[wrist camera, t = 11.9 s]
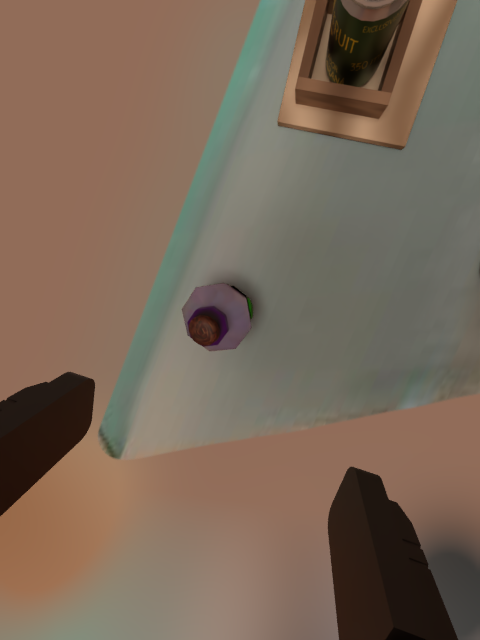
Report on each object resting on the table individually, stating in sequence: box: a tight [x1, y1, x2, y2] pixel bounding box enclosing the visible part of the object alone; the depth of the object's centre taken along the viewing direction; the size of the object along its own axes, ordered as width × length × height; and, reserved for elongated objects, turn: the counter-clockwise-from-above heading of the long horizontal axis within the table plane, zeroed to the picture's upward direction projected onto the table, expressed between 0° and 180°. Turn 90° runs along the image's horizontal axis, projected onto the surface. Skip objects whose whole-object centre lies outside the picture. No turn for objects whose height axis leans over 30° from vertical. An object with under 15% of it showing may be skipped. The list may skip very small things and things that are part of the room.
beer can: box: [325, 0, 409, 87], centre depth 25 cm, size 5×5×12 cm
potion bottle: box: [182, 283, 253, 351], centre depth 36 cm, size 9×9×12 cm
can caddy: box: [278, 0, 457, 150], centre depth 29 cm, size 14×13×5 cm
